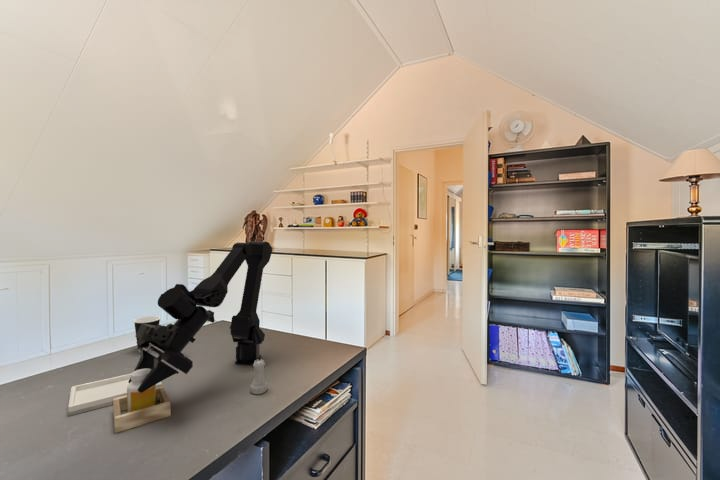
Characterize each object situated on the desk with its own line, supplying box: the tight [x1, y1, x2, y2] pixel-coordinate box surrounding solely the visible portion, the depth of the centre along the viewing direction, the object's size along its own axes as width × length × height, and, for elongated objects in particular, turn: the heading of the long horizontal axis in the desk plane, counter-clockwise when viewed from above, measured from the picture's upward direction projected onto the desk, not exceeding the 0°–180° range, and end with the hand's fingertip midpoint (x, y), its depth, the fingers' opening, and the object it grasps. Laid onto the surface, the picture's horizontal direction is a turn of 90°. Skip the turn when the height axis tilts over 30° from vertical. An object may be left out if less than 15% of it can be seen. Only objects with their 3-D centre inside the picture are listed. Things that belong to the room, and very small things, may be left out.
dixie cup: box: [132, 315, 161, 353], centre depth 110 cm, size 8×8×11 cm
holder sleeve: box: [112, 385, 172, 434], centre depth 72 cm, size 10×10×3 cm
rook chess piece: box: [249, 358, 268, 395], centre depth 84 cm, size 4×4×8 cm
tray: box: [67, 373, 163, 417], centre depth 81 cm, size 18×12×2 cm, turn 130°
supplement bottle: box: [126, 368, 156, 413], centre depth 72 cm, size 5×5×10 cm
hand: (134, 387), depth 71 cm, fingers closed on supplement bottle, 5 cm apart
